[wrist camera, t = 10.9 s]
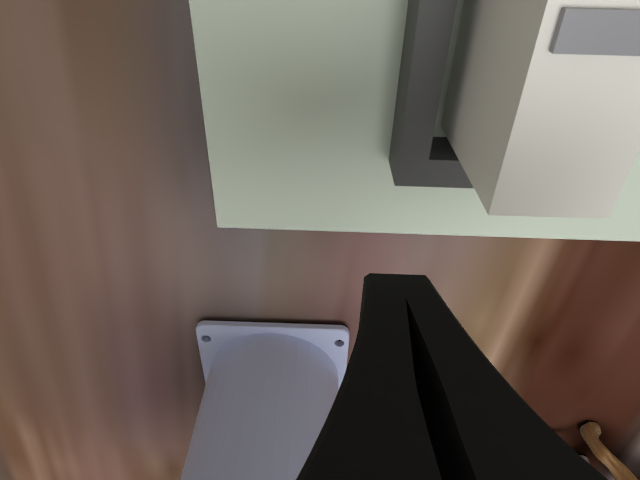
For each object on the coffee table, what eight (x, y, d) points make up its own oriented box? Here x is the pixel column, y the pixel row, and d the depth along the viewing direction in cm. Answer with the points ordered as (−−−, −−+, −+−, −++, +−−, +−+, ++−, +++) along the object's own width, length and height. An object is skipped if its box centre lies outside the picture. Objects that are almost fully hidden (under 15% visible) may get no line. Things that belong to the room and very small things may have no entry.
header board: (677, 227, 20) (729, 273, 17) (223, 212, 20) (206, 256, 17) (966, -274, 11) (1158, -333, 9) (164, -299, 11) (114, -366, 9)
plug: (524, 128, 16) (612, 222, 11) (441, 126, 16) (490, 219, 11) (572, -34, 13) (719, -6, 8) (470, -37, 13) (555, -10, 8)
